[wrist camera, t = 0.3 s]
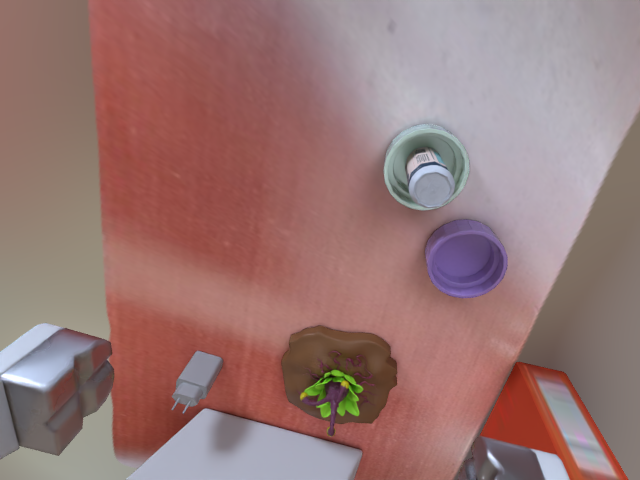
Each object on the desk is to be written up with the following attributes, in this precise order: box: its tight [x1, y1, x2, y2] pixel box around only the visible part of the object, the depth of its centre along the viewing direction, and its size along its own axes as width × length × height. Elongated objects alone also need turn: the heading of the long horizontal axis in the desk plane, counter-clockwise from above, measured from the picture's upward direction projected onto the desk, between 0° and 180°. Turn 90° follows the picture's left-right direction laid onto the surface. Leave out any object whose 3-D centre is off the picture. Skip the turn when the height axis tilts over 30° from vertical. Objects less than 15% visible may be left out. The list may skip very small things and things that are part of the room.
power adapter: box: [172, 351, 223, 414], centre depth 68 cm, size 3×5×12 cm, turn 76°
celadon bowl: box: [384, 124, 469, 210], centre depth 51 cm, size 10×10×4 cm
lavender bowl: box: [425, 219, 508, 298], centre depth 55 cm, size 10×10×4 cm
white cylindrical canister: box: [405, 147, 455, 208], centre depth 47 cm, size 5×5×12 cm
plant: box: [281, 326, 397, 436], centre depth 65 cm, size 20×20×11 cm
